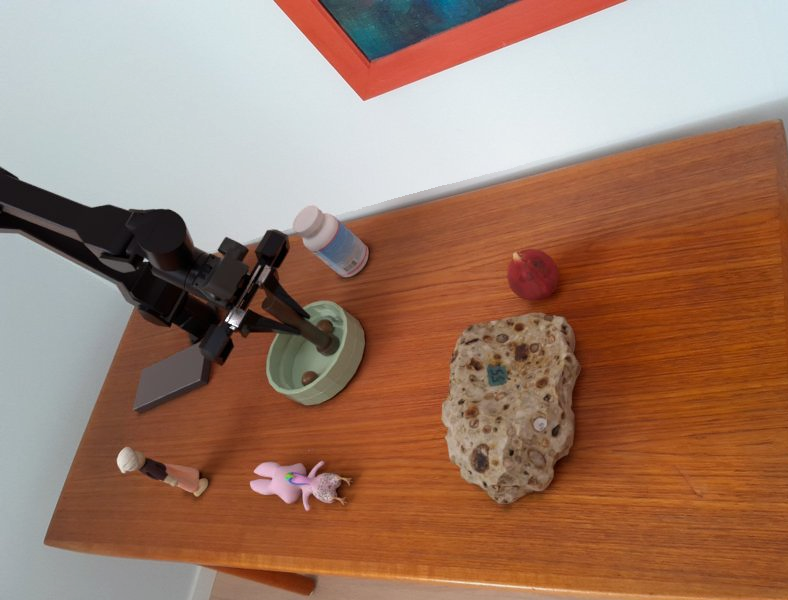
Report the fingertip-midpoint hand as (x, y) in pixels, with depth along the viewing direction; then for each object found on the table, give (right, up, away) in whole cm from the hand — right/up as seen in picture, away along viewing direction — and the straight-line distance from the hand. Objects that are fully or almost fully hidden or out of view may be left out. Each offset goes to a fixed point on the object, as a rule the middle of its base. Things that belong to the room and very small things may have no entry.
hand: (305, 326), depth 88 cm
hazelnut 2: (+1, 0, +7) cm, 7 cm away
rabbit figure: (+1, -21, -3) cm, 21 cm away
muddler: (+2, -3, +6) cm, 7 cm away
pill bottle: (+5, +10, +13) cm, 17 cm away
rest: (-27, -8, +24) cm, 37 cm away
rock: (+28, -10, -15) cm, 33 cm away
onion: (+31, +4, -9) cm, 32 cm away
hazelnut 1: (0, -7, +3) cm, 8 cm away
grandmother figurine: (-18, -23, +8) cm, 30 cm away
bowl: (+2, -5, +6) cm, 8 cm away
